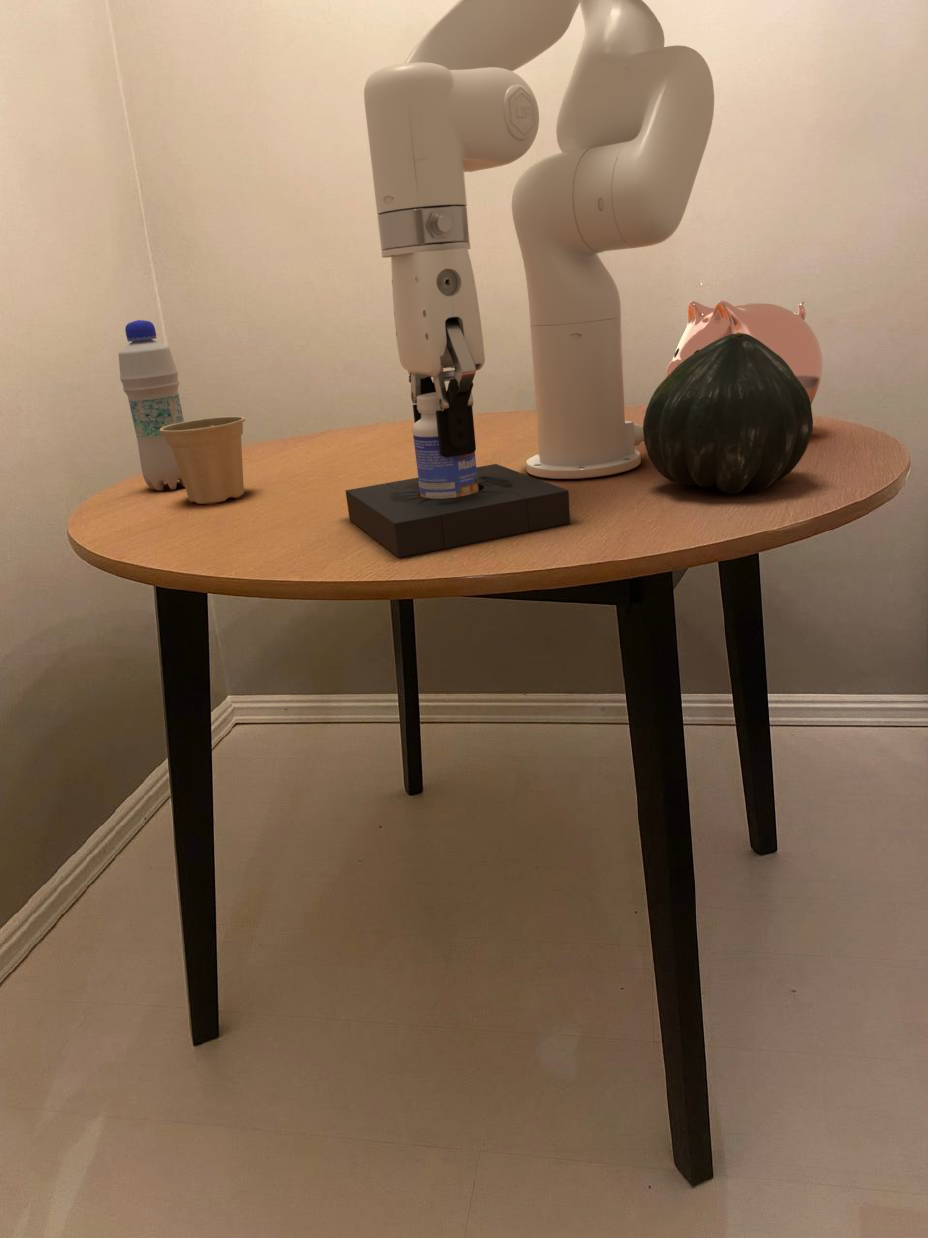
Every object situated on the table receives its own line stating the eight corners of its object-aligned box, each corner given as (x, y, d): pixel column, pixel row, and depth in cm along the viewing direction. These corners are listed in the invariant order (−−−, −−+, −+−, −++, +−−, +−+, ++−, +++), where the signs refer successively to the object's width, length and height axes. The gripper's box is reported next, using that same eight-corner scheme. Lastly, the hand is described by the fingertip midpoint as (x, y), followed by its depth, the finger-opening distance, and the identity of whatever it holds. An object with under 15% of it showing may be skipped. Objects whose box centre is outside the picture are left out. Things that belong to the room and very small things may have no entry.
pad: (498, 492, 97) (496, 463, 96) (570, 523, 83) (568, 490, 82) (349, 520, 92) (345, 490, 91) (398, 558, 78) (394, 523, 77)
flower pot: (170, 498, 111) (155, 424, 108) (249, 484, 114) (236, 412, 111) (180, 513, 103) (164, 433, 100) (265, 497, 106) (252, 420, 103)
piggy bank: (641, 441, 115) (637, 305, 110) (768, 420, 120) (770, 288, 114) (708, 460, 102) (706, 305, 96) (849, 436, 106) (855, 287, 100)
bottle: (210, 480, 119) (178, 315, 112) (174, 493, 113) (139, 320, 106) (169, 480, 122) (136, 319, 115) (133, 492, 116) (95, 324, 109)
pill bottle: (473, 507, 83) (462, 396, 80) (414, 509, 85) (401, 400, 81) (484, 492, 88) (474, 387, 85) (428, 495, 90) (417, 391, 86)
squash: (683, 410, 100) (652, 308, 88) (831, 415, 92) (820, 303, 80) (648, 523, 95) (610, 430, 83) (801, 537, 88) (784, 437, 76)
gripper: (506, 222, 72) (523, 456, 78) (432, 238, 87) (451, 433, 94) (414, 230, 70) (439, 470, 76) (354, 245, 85) (379, 444, 91)
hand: (445, 448), depth 85 cm, fingers closed on pill bottle, 5 cm apart
